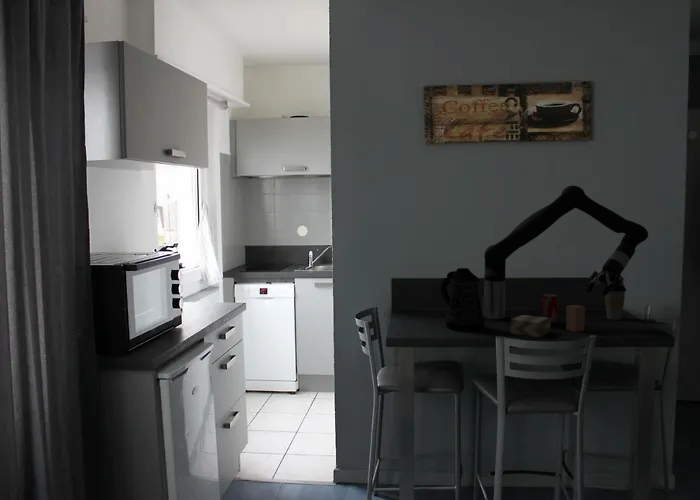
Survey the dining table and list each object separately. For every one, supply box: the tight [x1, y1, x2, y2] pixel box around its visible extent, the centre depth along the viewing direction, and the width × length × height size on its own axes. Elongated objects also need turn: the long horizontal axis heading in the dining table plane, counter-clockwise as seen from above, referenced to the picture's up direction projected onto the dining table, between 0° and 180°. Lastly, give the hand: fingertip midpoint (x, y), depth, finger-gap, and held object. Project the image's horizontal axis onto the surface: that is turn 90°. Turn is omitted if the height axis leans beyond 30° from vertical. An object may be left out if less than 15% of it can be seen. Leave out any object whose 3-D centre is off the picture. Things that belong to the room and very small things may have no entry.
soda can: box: [540, 293, 559, 324], centre depth 273 cm, size 7×7×12 cm
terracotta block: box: [565, 304, 586, 333], centre depth 256 cm, size 5×5×10 cm
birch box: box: [509, 314, 551, 338], centre depth 253 cm, size 12×12×6 cm
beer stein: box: [439, 267, 486, 332], centre depth 264 cm, size 16×19×25 cm
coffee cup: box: [603, 284, 627, 321], centre depth 280 cm, size 9×9×15 cm
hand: (595, 292), depth 260 cm, fingers open, 8 cm apart
